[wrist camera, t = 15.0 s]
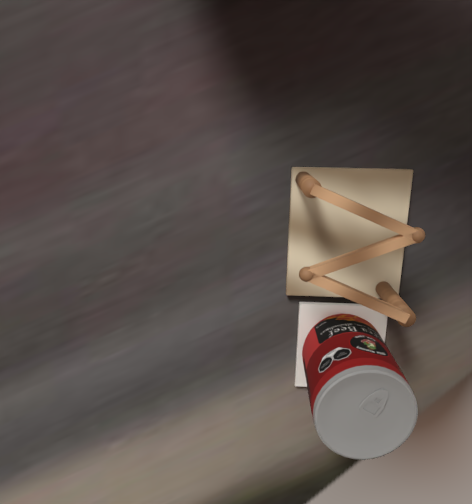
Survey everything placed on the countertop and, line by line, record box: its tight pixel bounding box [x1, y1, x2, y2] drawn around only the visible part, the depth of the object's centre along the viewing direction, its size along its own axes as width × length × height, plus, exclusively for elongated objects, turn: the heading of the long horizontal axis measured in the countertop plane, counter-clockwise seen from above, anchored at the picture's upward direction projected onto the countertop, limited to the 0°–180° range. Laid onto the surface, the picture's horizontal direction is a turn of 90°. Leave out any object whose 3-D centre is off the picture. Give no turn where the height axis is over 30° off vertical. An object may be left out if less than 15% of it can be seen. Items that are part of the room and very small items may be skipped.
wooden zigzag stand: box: [286, 167, 425, 327], centre depth 37 cm, size 12×10×8 cm
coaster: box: [295, 302, 388, 387], centre depth 44 cm, size 9×8×1 cm
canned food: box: [302, 314, 418, 460], centre depth 38 cm, size 8×8×11 cm
